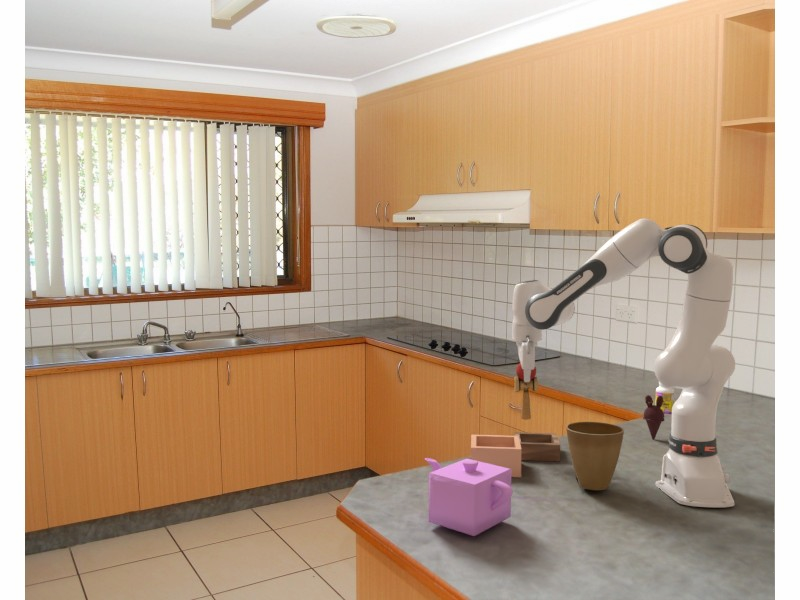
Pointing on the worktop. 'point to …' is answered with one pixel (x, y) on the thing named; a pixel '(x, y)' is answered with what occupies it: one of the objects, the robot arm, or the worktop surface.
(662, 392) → the supplement bottle
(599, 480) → the plant pot
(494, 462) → the stand
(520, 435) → the block
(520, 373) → the kendama
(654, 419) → the icecream
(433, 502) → the teapot
